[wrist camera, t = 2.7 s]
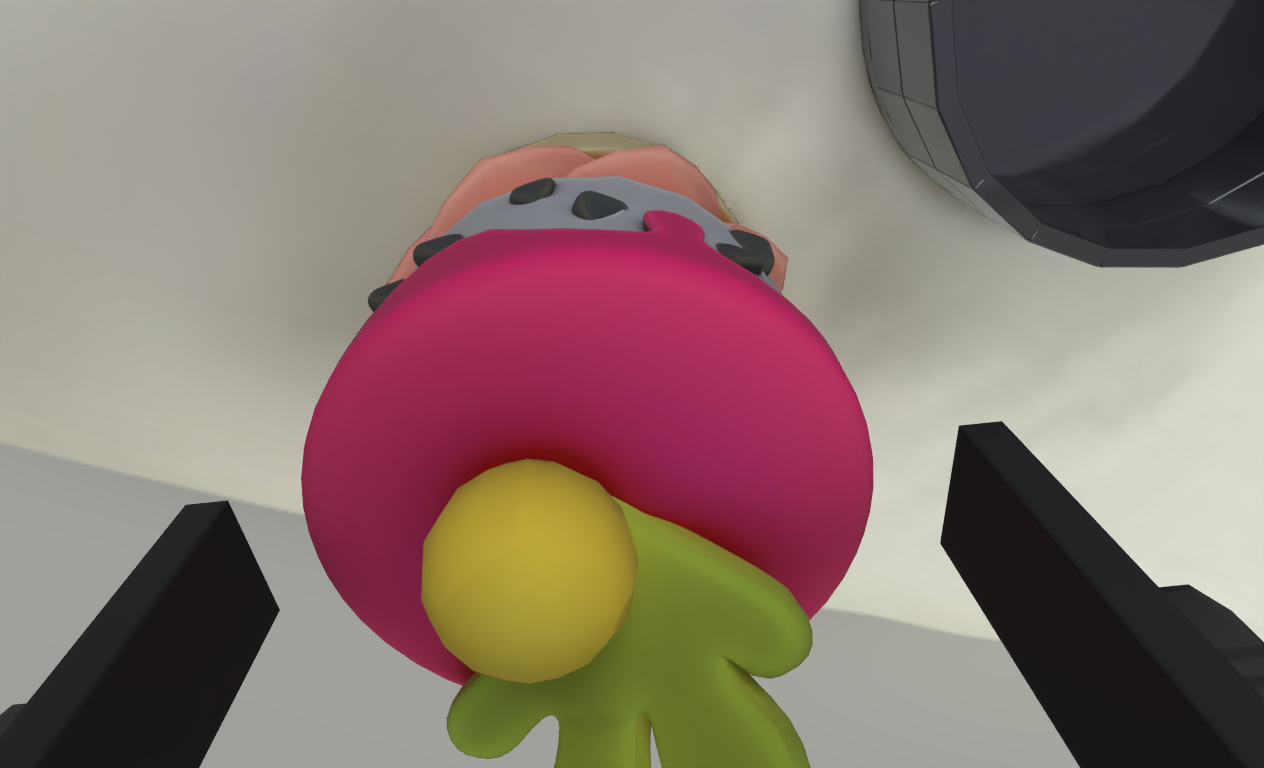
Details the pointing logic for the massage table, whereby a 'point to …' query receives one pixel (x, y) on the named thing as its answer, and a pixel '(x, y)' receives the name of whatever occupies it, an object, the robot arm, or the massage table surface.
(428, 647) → the cake
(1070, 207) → the pan
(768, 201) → the massage table surface
